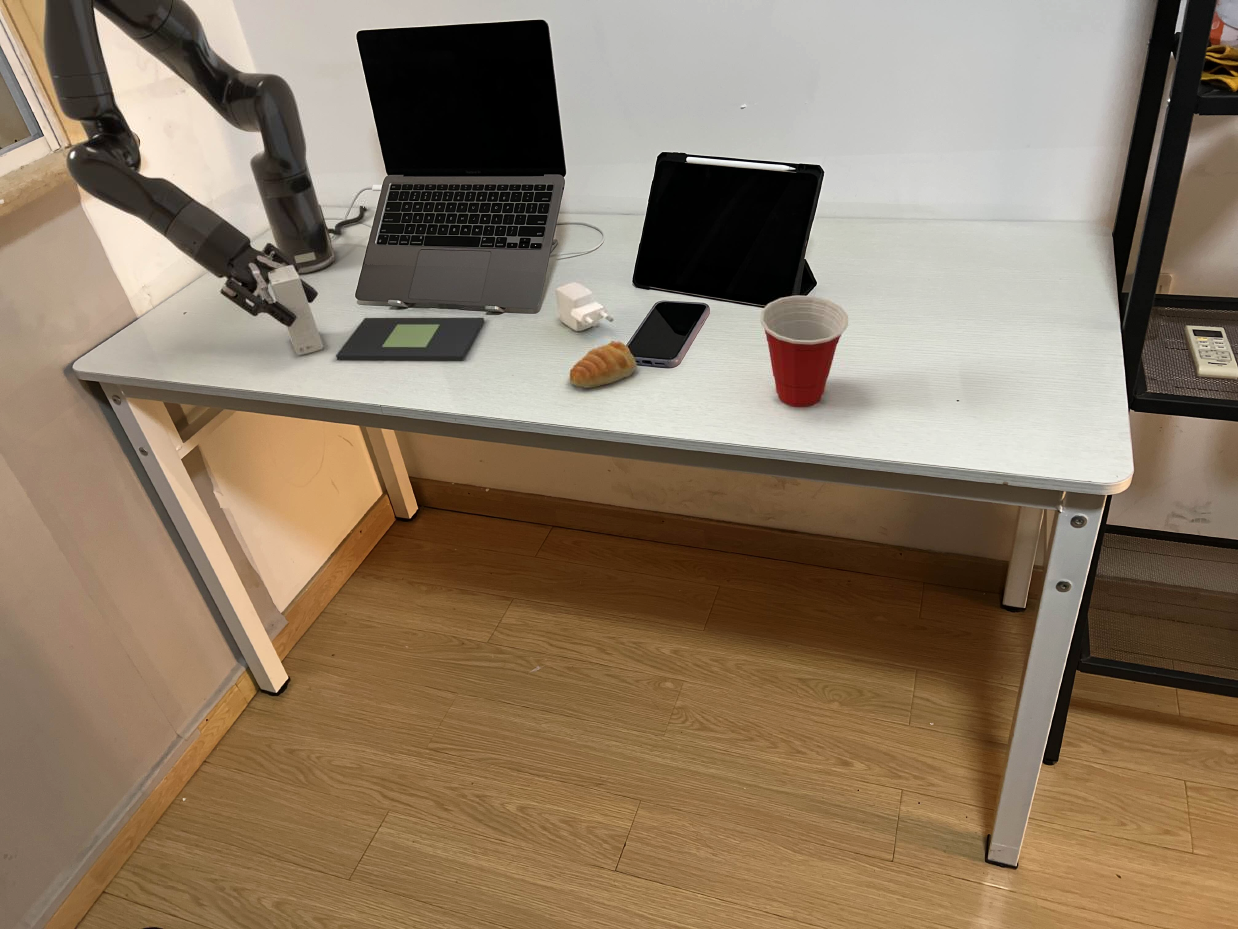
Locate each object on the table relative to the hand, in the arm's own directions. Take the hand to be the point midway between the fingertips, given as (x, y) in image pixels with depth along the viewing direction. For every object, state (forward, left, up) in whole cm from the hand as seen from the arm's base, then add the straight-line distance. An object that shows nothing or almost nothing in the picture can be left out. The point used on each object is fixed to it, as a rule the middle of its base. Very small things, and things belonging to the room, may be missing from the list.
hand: (304, 309), depth 140 cm
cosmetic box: (0, -2, -6) cm, 6 cm away
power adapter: (-5, +42, -6) cm, 43 cm away
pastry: (+8, +47, -6) cm, 49 cm away
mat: (-2, +15, -6) cm, 17 cm away
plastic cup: (+13, +74, -6) cm, 76 cm away
